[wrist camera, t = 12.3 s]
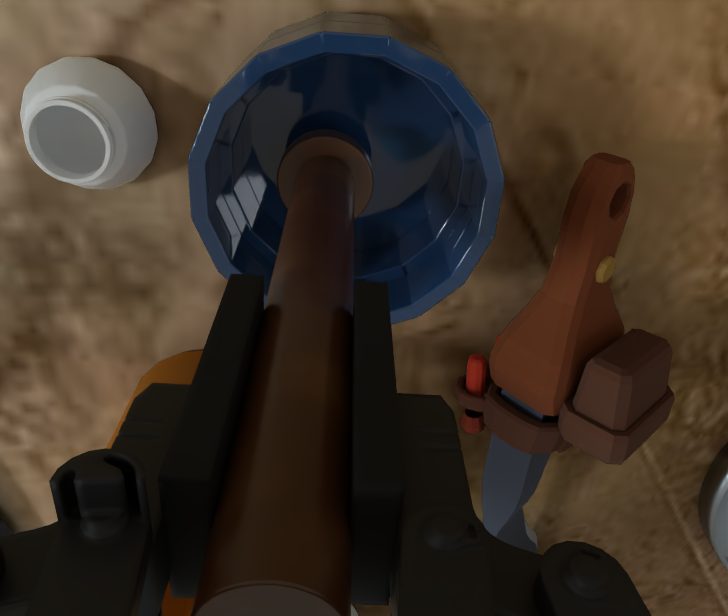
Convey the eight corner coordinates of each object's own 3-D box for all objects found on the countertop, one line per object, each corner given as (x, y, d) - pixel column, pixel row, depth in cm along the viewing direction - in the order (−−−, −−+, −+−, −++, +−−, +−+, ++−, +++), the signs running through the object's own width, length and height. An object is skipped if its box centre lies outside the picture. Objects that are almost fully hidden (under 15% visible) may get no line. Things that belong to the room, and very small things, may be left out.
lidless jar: (78, 199, 28) (183, 156, 27) (50, 227, 25) (164, 180, 24) (3, 85, 25) (115, 33, 25) (-37, 103, 23) (87, 46, 22)
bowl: (495, 22, 24) (529, 46, 20) (456, 271, 30) (476, 338, 25) (212, 0, 24) (177, 20, 19) (223, 258, 29) (198, 323, 24)
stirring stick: (376, 131, 25) (416, 551, 8) (369, 221, 26) (390, 714, 10) (279, 125, 24) (119, 538, 8) (278, 216, 26) (147, 706, 10)
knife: (370, 627, 47) (446, 730, 42) (513, 157, 23) (719, 283, 18) (434, 579, 50) (510, 671, 46) (617, 125, 26) (813, 226, 22)
